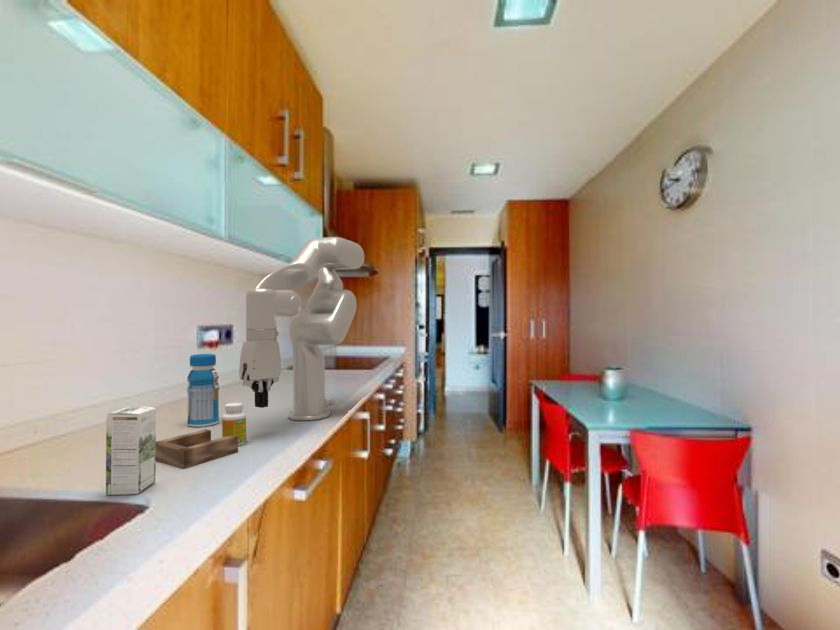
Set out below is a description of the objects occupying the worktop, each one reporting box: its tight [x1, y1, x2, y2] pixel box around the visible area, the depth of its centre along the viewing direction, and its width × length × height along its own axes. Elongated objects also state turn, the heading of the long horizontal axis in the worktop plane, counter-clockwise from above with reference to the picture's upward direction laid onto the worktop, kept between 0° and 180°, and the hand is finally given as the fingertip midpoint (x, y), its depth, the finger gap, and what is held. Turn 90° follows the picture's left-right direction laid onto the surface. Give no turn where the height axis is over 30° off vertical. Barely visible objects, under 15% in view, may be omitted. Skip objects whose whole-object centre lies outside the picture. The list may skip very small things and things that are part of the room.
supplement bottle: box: [221, 402, 247, 447], centre depth 109 cm, size 5×5×10 cm
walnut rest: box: [156, 429, 239, 470], centre depth 100 cm, size 13×12×4 cm
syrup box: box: [105, 406, 157, 496], centre depth 81 cm, size 6×6×14 cm
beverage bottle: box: [186, 353, 220, 428], centre depth 129 cm, size 8×8×20 cm
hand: (261, 406), depth 116 cm, fingers closed
